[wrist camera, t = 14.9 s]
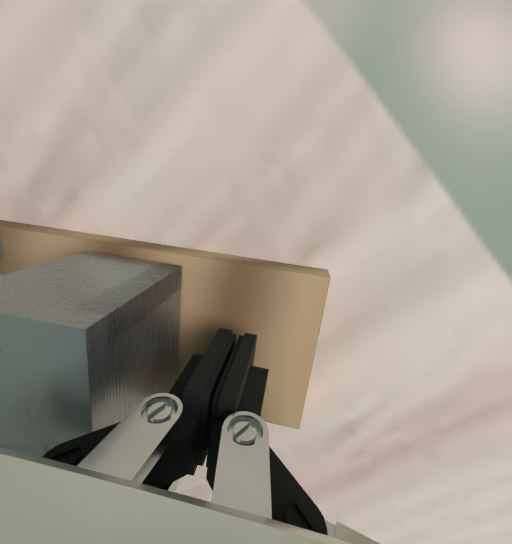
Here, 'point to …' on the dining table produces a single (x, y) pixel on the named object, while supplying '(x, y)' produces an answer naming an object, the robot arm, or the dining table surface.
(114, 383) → the grey concrete block
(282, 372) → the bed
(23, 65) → the dining table surface
